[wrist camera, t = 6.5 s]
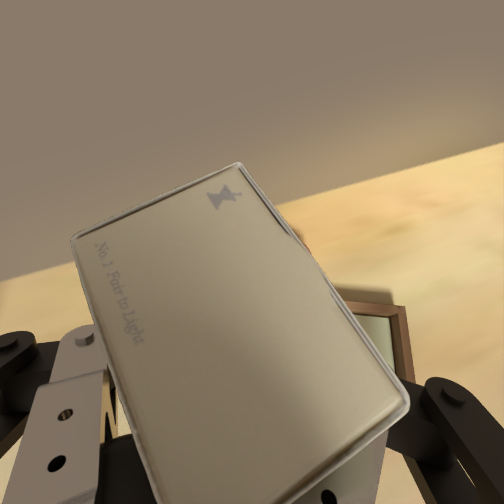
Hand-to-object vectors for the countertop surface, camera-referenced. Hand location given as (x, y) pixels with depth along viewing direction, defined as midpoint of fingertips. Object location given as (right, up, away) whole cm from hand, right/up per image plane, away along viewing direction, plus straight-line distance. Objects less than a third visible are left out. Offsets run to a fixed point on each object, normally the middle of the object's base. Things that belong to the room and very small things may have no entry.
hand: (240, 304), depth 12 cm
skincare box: (0, -4, +4) cm, 5 cm away
